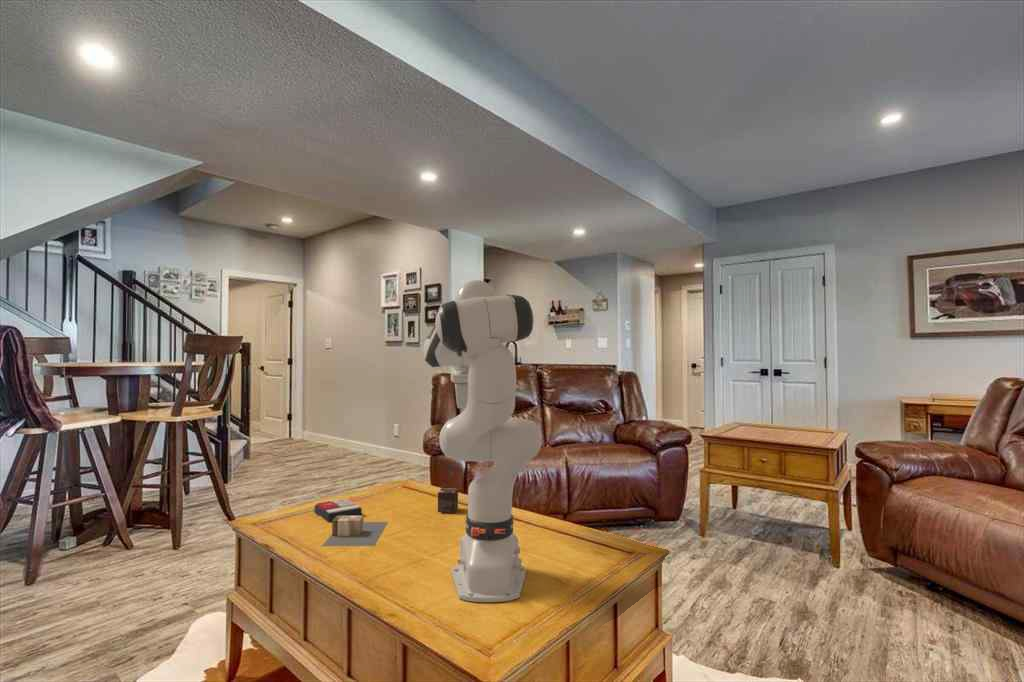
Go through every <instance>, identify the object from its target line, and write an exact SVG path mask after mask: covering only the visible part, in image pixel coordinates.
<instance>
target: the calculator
mask: <svg viewBox="0 0 1024 682" xmlns="http://www.w3.org/2000/svg"><path fill="white" fill-rule="evenodd" d="M362 509H363V508H362V507H361V506H359V505H357V504H356V503H354V502H352V501H350V500H349V499H347V498H339V499H335V500H331V501H330V500H329V501H323V502H317V503H316V504H314V514H315V513H316V514H317V515H316V514H315V515H316V516H318V517H321V518H322V519H323V520H324V521H326V522H327V523H329V524H330V523H332V521H333V519H334V518H335V517H336V516H363V514H362V512H363V511H362Z"/></svg>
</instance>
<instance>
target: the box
mask: <svg viewBox="0 0 1024 682" xmlns="http://www.w3.org/2000/svg"><path fill="white" fill-rule="evenodd" d="M458 509H459V488H458V487H441V488H440V489H439V491H438V492H437V513H441V514H453V513H455V514H456V512H457V510H458Z"/></svg>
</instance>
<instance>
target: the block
mask: <svg viewBox="0 0 1024 682" xmlns="http://www.w3.org/2000/svg"><path fill="white" fill-rule="evenodd" d="M363 522H364V515H362V516H336V517H335V518H334V519H333V521H332V522H331V523H332V527H331V528H332V529H331V534H332V536H360V534H361V533H362V531H363Z"/></svg>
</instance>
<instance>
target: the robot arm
mask: <svg viewBox="0 0 1024 682" xmlns="http://www.w3.org/2000/svg"><path fill="white" fill-rule="evenodd" d="M436 313H437V314H436V317H435V323H434V324H433V327H432V329H431V330H430V333H429V335H428V336H426V339H425V341H424V343H423V347H422V348H423V349H422V350H423V351H422V353H423V358H424V361H425V362H426V363H427V364H428V365H429V366H430V367H431V368H439V367H440V368H443V367H450V381H451V382H452V383H453V384H454V389H455V399H456V400H455V403H456V408H457V409H460V413H459V414H458V415H456V416H455V417H453V418H451V419H448V420H447V421H446V422H445V423H444V425H443V426H442V428H441V430H440V432H439V439H438V441H439V446H440V450H441V451H442V453H443V454H444V456H445V457H446V458H448V459H451V460H457V461H462V462H492V463H493V465H492V466H491V468H490V470H488V471H487V472H485V473H482V474H480V475H478V476H477V477H476V478H474V479H473V480H472V481H471V482H470V483H469V486H468V491H467V492H468V493H467V514H466V516H465V518H466V519H465V533H464V534H463V535H462V536H461V537H460V539H459V558H458V560H457V562H458V565H456V566H453V567H451V572H450V573H451V576H452V580H453V583H454V587H455V589H456V593H457V594H456V595H457V597H458V599H460V600H463V601H467V602H475V603H500V602H508V601H513V600H516V599H519V598H520V597H521V595H522V590H523V586H524V583H525V578H526V575H527V567H526V566H525V565H522V558H521V557H519V554H520V553H521V547H519V537H518V536H517V535H515V533H514V521H515V520H514V515H513V514H512V510H513V509H512V508H513V507H512V506H513V493H514V487H515V482H516V479H517V477H518V476H519V473H520V472H521V471H522V470H523V468H524V467H525V466H526V465H527V464H528V463H529V462H530V461H532V460H533V459H534V458H535V457H536V456H537V455H538V454H539V452H540V450H541V448H542V447H541V446H542V443H543V439H542V437H543V436H542V432H541V429H540V427H539V426H538V425H537V423H536V422H535V421H534V420H531V419H525V418H522V417H521V418H520V417H515V416H514V417H512V416H513V414H514V413H515V412H514V411H515V409H516V397H517V396H516V393H517V369H516V363H515V362H516V361H515V358H514V355H513V353H512V351H511V349H509V348H508V347H507V346H506V345H504V344H505V343H510V342H518V341H522V340H525V339H526V338H528V337H529V336H530V335H531V334H532V332H533V328H534V322H535V321H534V318H535V317H534V312H533V309H532V306H531V304H530V301H529V300H528V299H526V298H525V297H523V296H522V295H518V294H517V295H516V294H507V293H506V294H505V295H497V294H496V292H495V289H494V288H493V287H492V286H491V285H490V284H489V283H487V281H484V280H479V279H474V280H470V281H468V282H465V283H464V284H463V285H461V287H460V288H459V290H458V292H457V294H456V295H455V299H454V300H450V301H448V302H446V303H443V304H441V305H440V306H439V308H437V312H436Z"/></svg>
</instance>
